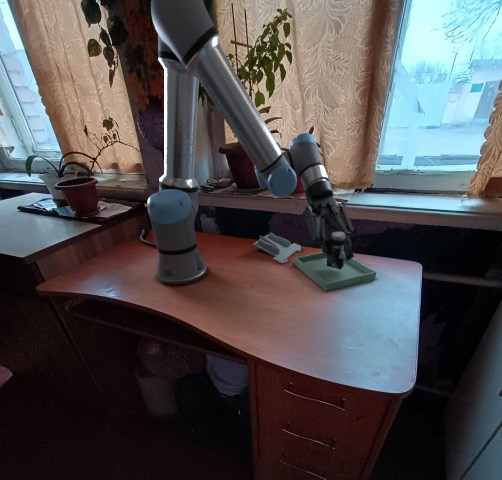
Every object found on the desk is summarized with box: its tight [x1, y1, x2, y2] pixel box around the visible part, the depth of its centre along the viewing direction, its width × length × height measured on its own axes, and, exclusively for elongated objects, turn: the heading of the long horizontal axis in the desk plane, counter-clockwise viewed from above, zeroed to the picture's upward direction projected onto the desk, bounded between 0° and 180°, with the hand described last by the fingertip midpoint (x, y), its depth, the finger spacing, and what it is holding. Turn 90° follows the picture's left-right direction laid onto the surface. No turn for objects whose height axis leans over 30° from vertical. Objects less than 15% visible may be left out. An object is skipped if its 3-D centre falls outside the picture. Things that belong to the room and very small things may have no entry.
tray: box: [293, 251, 377, 292], centre depth 94 cm, size 19×16×2 cm
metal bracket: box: [252, 231, 302, 264], centre depth 107 cm, size 14×6×15 cm
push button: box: [322, 231, 348, 269], centre depth 91 cm, size 7×5×10 cm
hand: (341, 260), depth 89 cm, fingers closed on push button, 5 cm apart
